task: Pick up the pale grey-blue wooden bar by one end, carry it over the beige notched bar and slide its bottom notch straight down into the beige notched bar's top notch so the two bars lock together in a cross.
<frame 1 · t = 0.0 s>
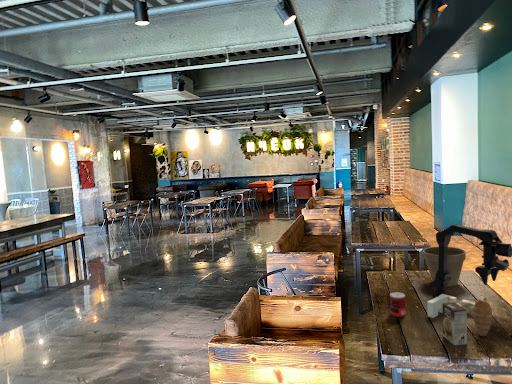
hand: (489, 282, 205), 15 cm above the table, fingers open, 9 cm apart
coffee box: (454, 340, 176), on the table
plant pot: (444, 283, 251), on the table
slotted bar: (437, 313, 206), on the table
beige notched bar: (459, 310, 208), on the table
cat ice cream: (482, 336, 179), on the table
canned food: (398, 314, 208), on the table
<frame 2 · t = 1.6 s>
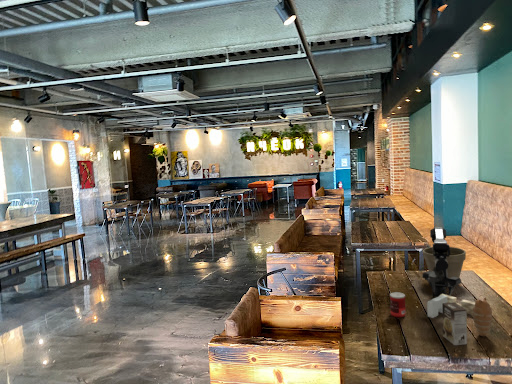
hand: (441, 293, 207), 10 cm above the table, fingers open, 9 cm apart
nothing on the table moved.
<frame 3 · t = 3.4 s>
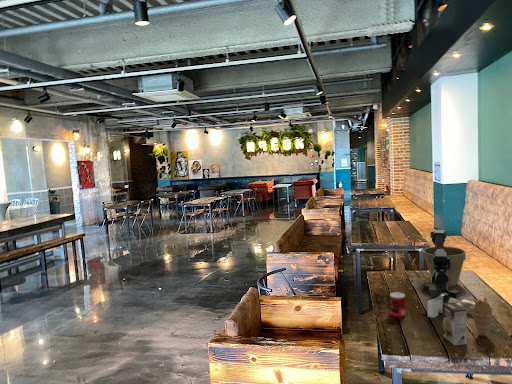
hand: (441, 306, 208), 3 cm above the table, fingers closed on slotted bar, 3 cm apart
slotted bar: (437, 313, 206), on the table, touching gripper
everything else where it was.
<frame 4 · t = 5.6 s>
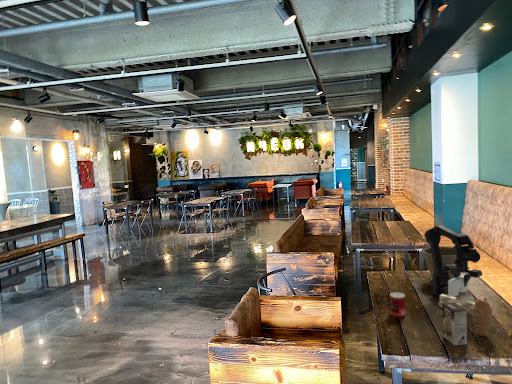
hand: (462, 285, 210), 12 cm above the table, fingers closed on slotted bar, 3 cm apart
slotted bar: (458, 292, 208), point 10 cm above the table, touching gripper
everything else where it was.
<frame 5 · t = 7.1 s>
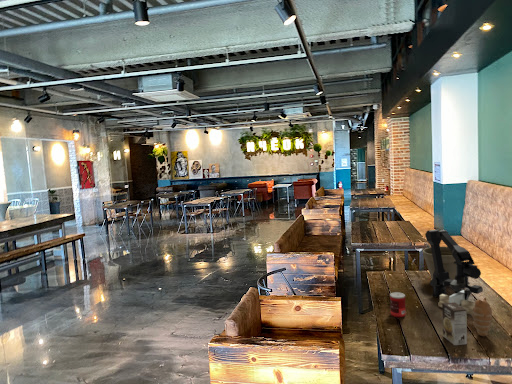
hand: (462, 301, 210), 4 cm above the table, fingers closed on slotted bar, 3 cm apart
slotted bar: (458, 308, 208), point 1 cm above the table, touching gripper
everything else where it was.
when the fingers open (3 cm above the table, at t = 8.1 s): slotted bar stays where it is, on the table.
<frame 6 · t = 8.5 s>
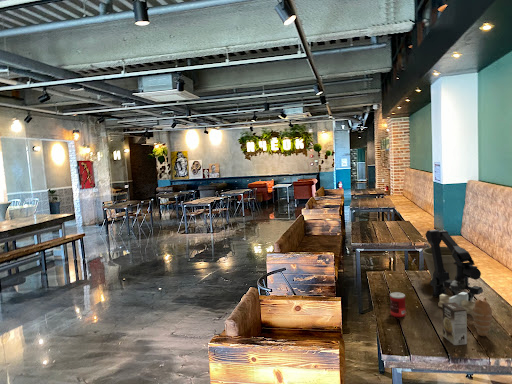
hand: (462, 302, 210), 3 cm above the table, fingers open, 7 cm apart
slotted bar: (459, 310, 209), on the table
everything else where it was.
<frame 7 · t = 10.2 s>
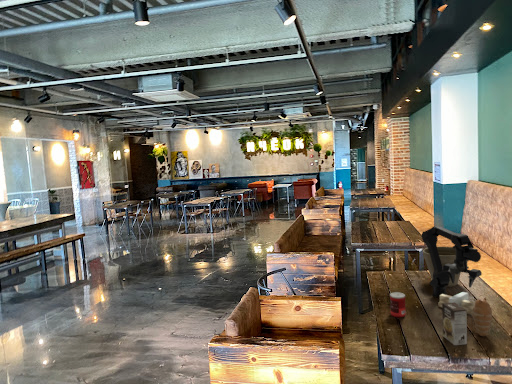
hand: (461, 285, 213), 12 cm above the table, fingers open, 9 cm apart
nothing on the table moved.
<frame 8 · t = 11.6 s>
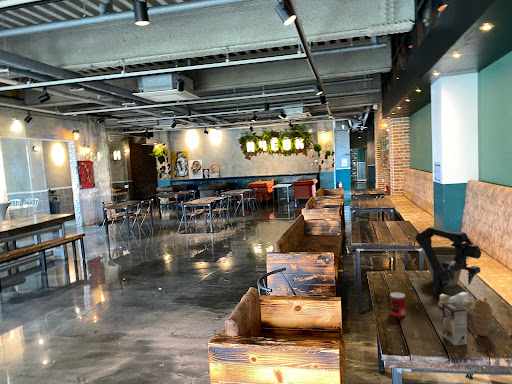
hand: (460, 282, 216), 12 cm above the table, fingers open, 9 cm apart
nothing on the table moved.
at the end: slotted bar 0.1 cm off-centre on the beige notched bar, point 0.0 cm above the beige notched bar's base; slotted bar tilted 0°; the gripper is holding nothing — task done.
